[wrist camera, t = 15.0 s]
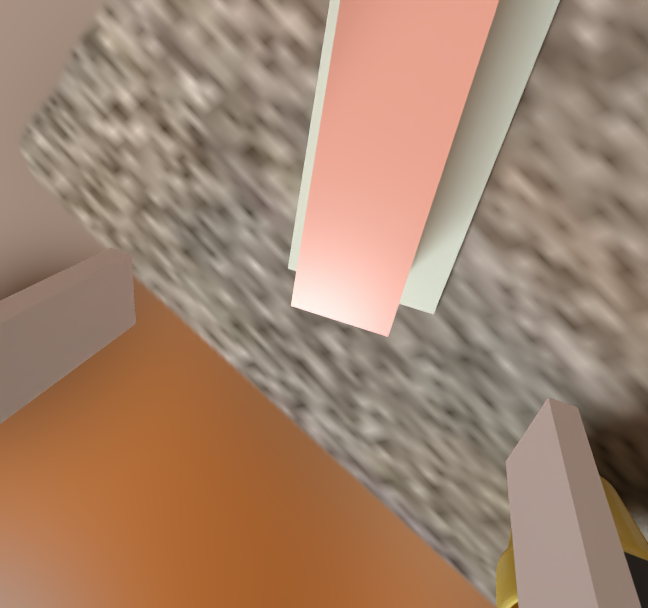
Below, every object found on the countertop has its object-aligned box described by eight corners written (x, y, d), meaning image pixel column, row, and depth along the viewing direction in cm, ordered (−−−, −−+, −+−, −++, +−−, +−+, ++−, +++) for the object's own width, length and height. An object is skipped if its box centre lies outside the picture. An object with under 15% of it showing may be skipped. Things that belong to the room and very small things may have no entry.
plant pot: (493, 530, 35) (501, 669, 27) (485, 441, 31) (493, 576, 23) (639, 547, 32) (699, 713, 24) (653, 449, 27) (734, 612, 19)
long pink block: (405, 275, 26) (388, 336, 20) (329, 252, 26) (291, 305, 21) (561, -204, 15) (623, -376, 9) (425, -219, 16) (402, -387, 10)
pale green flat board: (433, 309, 27) (433, 314, 26) (291, 265, 28) (287, 268, 28) (665, -269, 14) (673, -281, 13) (381, -297, 15) (378, -309, 15)
